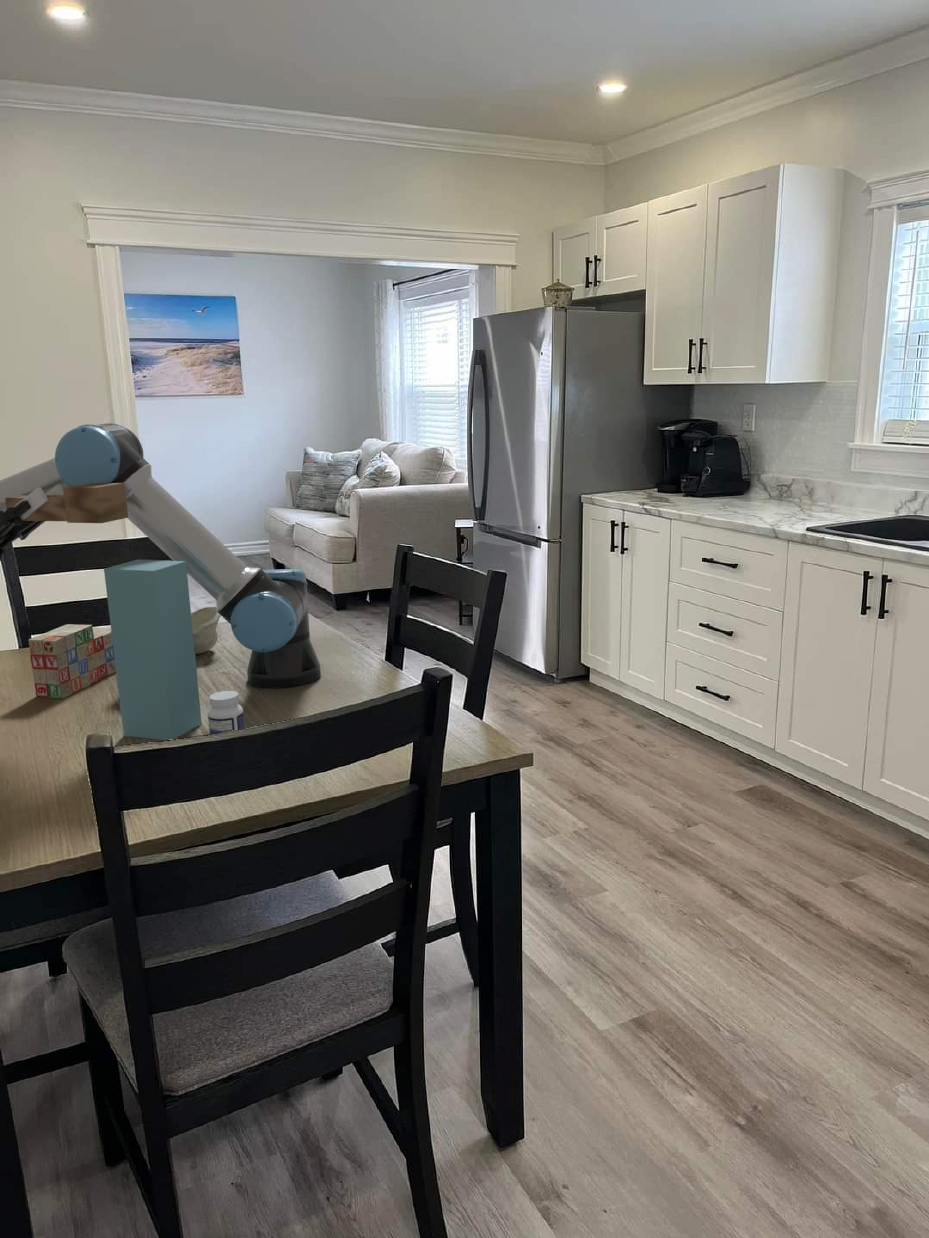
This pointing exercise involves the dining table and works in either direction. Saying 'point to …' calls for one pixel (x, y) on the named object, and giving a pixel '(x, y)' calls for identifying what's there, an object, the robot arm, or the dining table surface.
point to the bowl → (204, 628)
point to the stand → (153, 648)
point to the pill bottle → (225, 712)
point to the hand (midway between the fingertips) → (52, 492)
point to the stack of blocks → (71, 659)
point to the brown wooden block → (81, 504)
